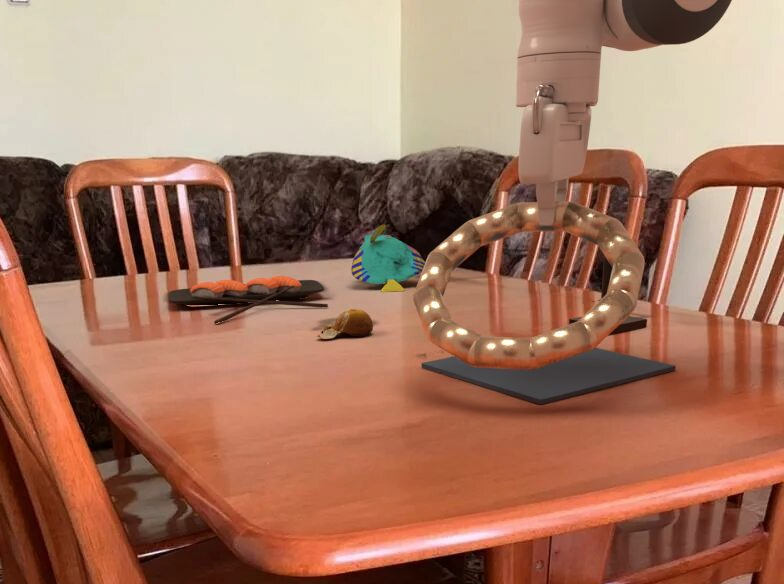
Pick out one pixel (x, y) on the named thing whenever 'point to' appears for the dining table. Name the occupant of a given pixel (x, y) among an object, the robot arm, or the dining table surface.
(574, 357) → the mat
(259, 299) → the sushi plate
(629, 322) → the post
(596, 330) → the ring
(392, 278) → the decorative fish
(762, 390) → the dining table surface
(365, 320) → the fruit
